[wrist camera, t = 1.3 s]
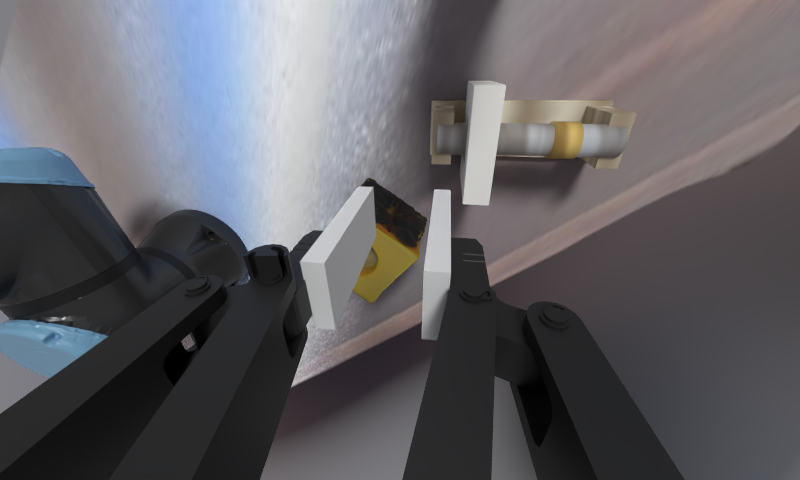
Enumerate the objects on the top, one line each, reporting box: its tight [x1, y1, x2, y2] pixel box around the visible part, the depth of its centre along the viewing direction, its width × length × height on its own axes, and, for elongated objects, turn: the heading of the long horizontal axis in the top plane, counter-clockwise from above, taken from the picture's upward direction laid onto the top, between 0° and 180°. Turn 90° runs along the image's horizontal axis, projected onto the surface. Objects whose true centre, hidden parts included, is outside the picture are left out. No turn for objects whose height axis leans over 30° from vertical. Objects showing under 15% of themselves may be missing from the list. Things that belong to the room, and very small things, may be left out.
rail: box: [430, 100, 637, 169], centre depth 31 cm, size 19×6×8 cm, turn 91°
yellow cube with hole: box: [353, 178, 427, 303], centre depth 39 cm, size 10×10×10 cm
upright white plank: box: [460, 81, 506, 205], centre depth 30 cm, size 2×10×10 cm, turn 1°
